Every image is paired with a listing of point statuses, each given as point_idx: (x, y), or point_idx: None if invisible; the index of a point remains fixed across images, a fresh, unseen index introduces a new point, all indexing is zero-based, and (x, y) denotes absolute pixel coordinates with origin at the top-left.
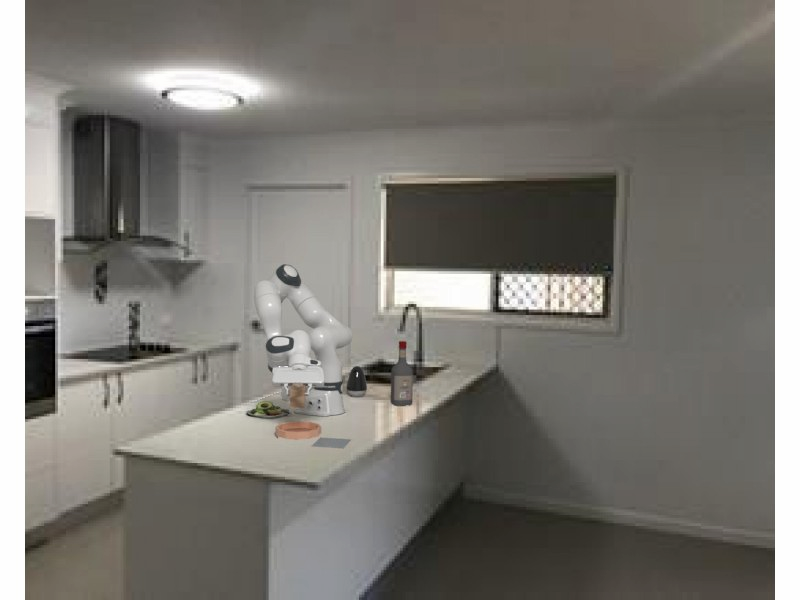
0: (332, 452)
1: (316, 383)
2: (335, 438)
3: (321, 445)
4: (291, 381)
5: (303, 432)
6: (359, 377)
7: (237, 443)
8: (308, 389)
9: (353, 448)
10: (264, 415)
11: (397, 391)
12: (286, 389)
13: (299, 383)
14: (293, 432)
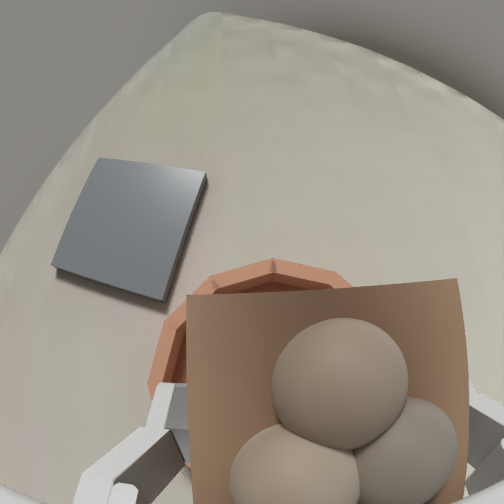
0: (137, 148)
1: (4, 486)
2: (101, 281)
3: (165, 182)
4: (494, 500)
5: (240, 268)
6: None
7: (483, 248)
8: (148, 435)
9: (67, 194)
10: None
11: None
12: (484, 396)
13: (320, 384)
14: (293, 263)
